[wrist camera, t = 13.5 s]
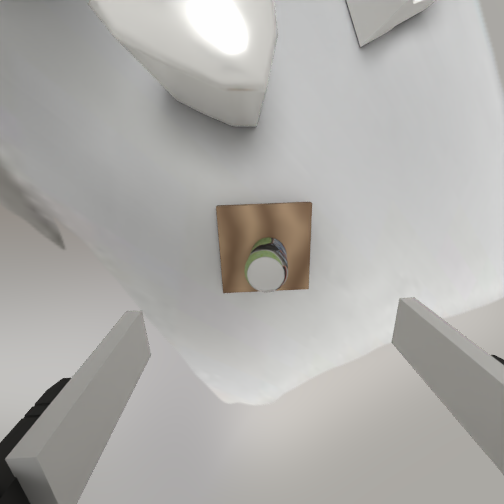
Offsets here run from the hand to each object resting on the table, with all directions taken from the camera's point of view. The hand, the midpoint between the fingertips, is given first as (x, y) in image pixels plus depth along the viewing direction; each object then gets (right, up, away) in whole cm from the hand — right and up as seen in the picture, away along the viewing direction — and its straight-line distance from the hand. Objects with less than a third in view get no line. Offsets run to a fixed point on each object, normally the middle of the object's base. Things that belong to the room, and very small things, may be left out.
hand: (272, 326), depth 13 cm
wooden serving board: (+1, +5, +35) cm, 35 cm away
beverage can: (+1, +4, +31) cm, 31 cm away
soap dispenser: (-5, +30, +26) cm, 40 cm away
